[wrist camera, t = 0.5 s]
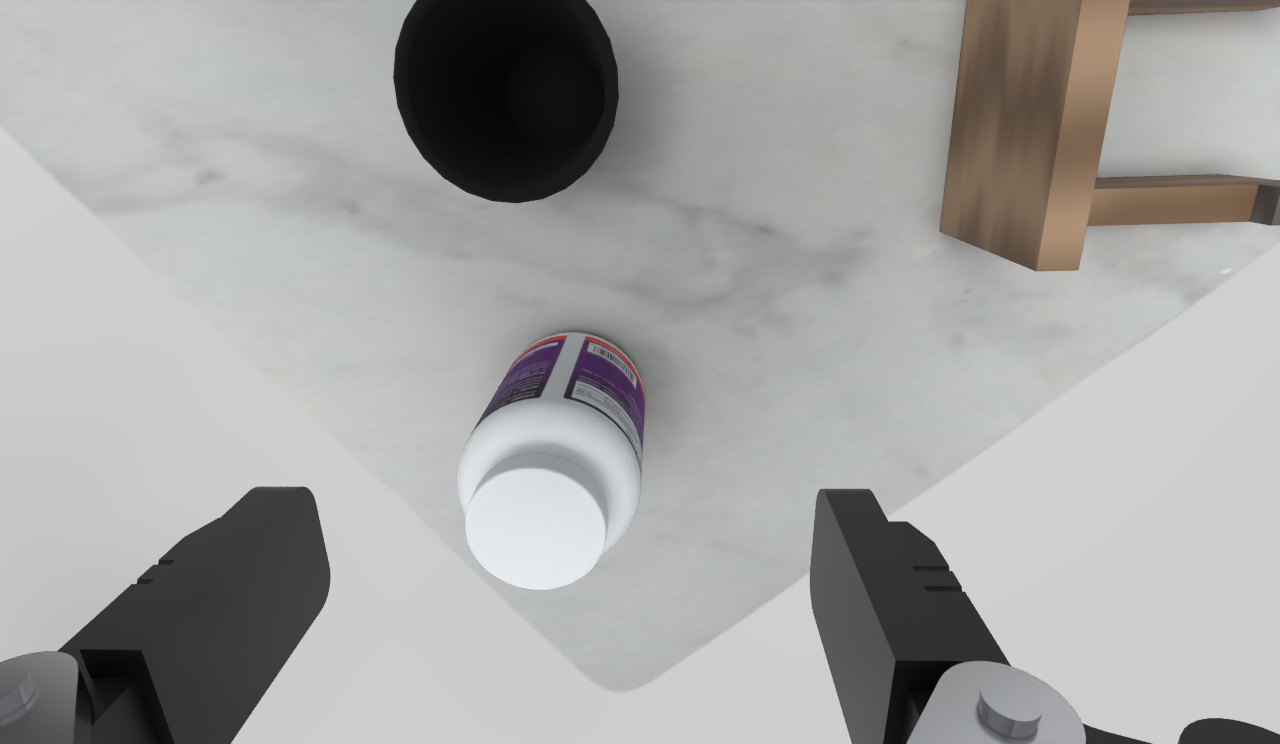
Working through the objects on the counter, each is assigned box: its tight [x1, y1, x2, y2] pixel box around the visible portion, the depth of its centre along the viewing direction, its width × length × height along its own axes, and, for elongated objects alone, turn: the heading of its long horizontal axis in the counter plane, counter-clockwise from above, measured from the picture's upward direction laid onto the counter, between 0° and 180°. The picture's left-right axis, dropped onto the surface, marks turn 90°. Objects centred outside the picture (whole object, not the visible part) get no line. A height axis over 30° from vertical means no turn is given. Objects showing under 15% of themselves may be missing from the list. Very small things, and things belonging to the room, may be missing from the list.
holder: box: [940, 0, 1280, 271], centre depth 29 cm, size 12×14×10 cm
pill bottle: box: [456, 332, 645, 590], centre depth 33 cm, size 8×8×14 cm
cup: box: [393, 0, 619, 203], centre depth 29 cm, size 8×8×12 cm
